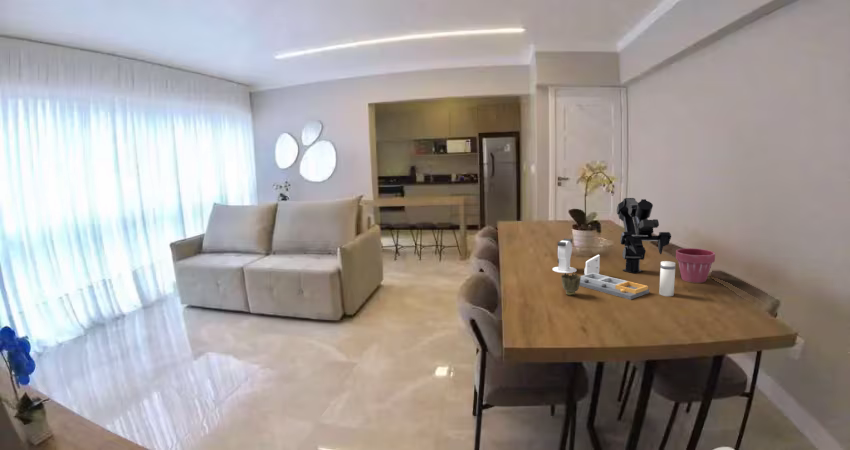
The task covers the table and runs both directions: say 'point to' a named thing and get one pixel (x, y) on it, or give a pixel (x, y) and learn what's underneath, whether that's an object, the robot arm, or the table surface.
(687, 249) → the plant pot
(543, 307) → the table surface
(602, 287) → the board
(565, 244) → the white charging stand
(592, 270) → the white wedge bracket
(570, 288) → the cup
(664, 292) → the white bottle
